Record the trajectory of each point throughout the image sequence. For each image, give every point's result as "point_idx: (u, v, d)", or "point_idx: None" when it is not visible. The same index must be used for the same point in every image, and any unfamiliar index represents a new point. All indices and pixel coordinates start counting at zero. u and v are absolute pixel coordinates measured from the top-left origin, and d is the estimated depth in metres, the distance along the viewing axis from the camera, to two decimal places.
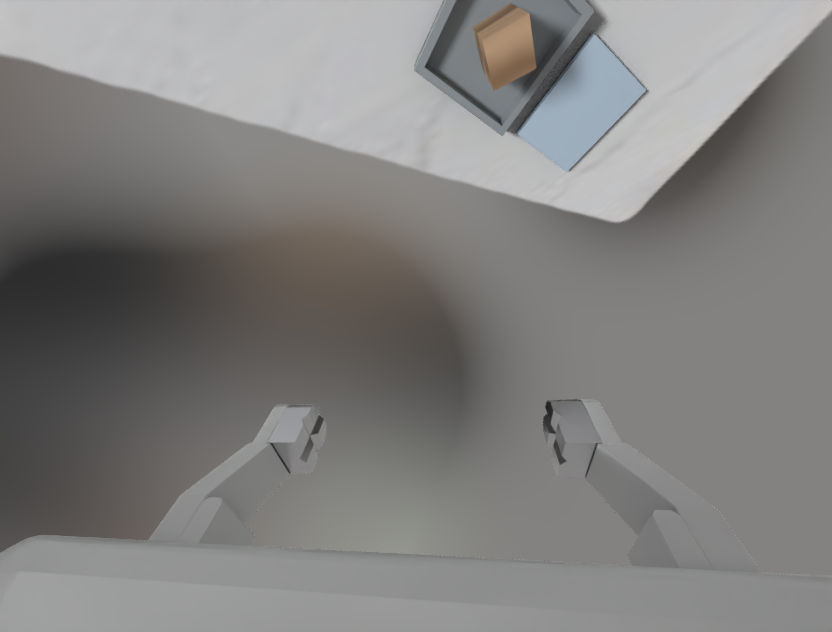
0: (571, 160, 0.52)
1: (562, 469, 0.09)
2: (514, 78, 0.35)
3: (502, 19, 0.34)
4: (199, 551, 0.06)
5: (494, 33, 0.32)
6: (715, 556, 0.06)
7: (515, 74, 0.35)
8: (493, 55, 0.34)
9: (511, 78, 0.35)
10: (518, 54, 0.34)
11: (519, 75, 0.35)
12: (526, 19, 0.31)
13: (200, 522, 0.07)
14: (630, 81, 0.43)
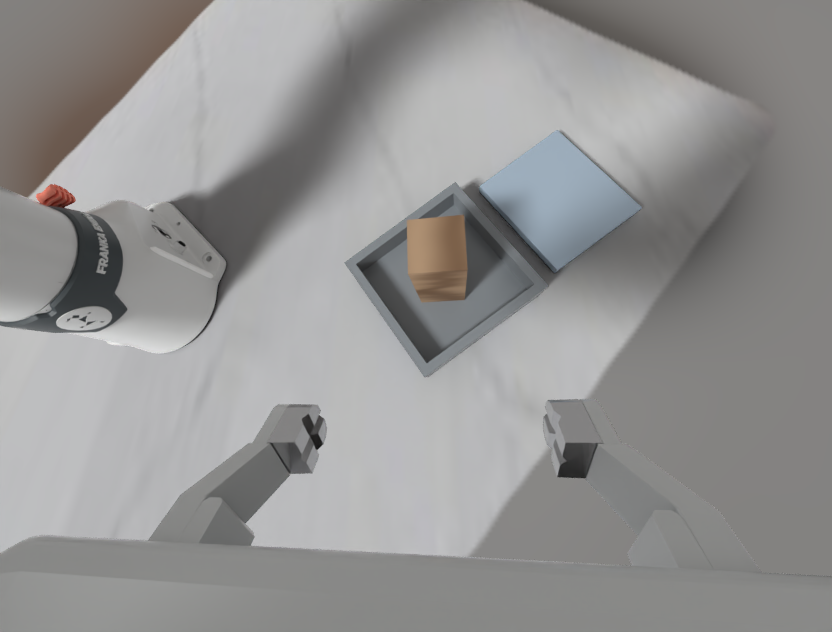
0: (624, 201, 0.34)
1: (562, 468, 0.09)
2: (463, 241, 0.25)
3: None
4: (199, 551, 0.06)
5: (408, 259, 0.26)
6: (715, 556, 0.06)
7: (459, 239, 0.25)
8: (427, 263, 0.25)
9: (462, 245, 0.25)
10: (440, 234, 0.26)
11: (463, 235, 0.25)
12: (410, 223, 0.26)
13: (200, 522, 0.07)
14: (540, 146, 0.37)
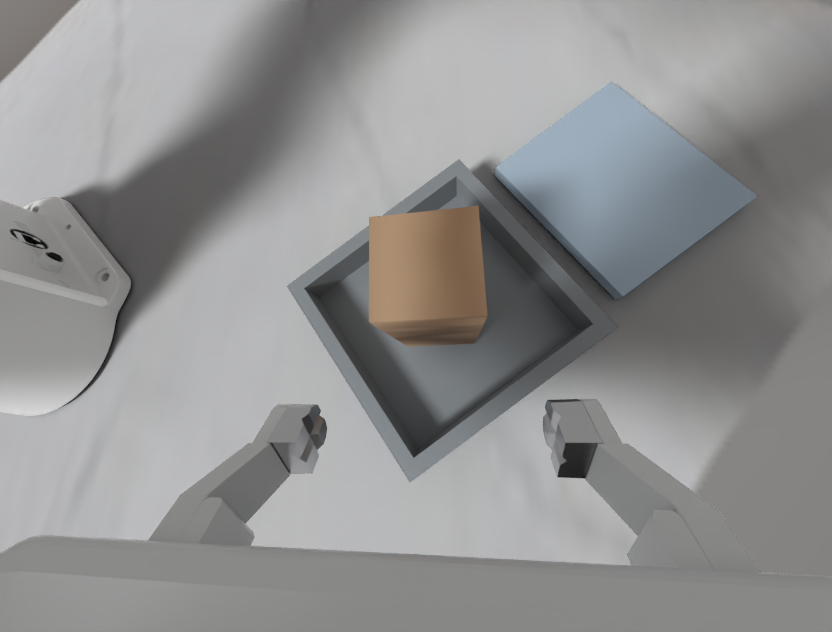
0: (726, 187, 0.22)
1: (562, 469, 0.09)
2: (478, 258, 0.13)
3: None
4: (199, 551, 0.06)
5: None
6: (715, 556, 0.06)
7: (471, 255, 0.13)
8: (407, 302, 0.13)
9: (476, 266, 0.13)
10: (432, 244, 0.13)
11: (477, 246, 0.13)
12: (376, 223, 0.14)
13: (200, 522, 0.07)
14: (587, 107, 0.24)
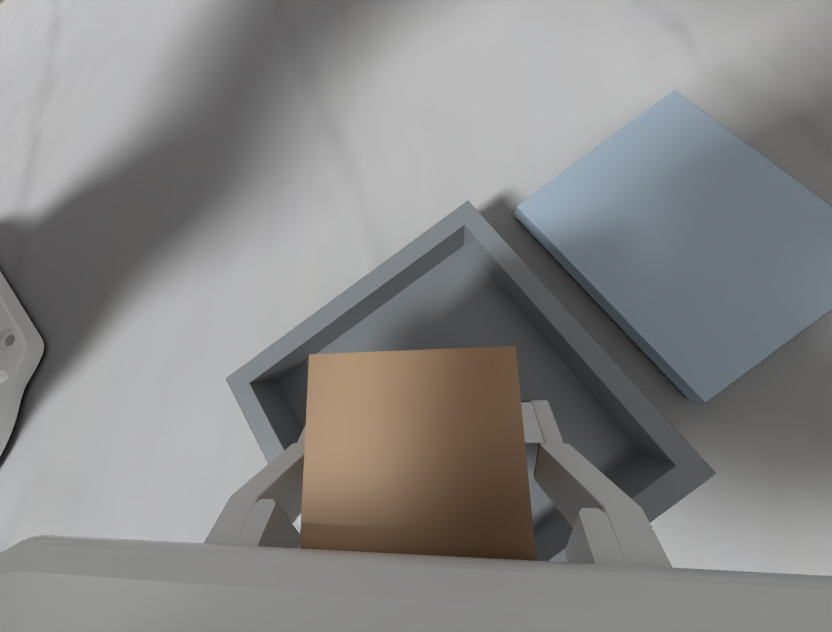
0: None
1: None
2: (519, 464, 0.06)
3: None
4: (199, 551, 0.06)
5: None
6: (631, 552, 0.06)
7: (502, 454, 0.06)
8: (375, 550, 0.06)
9: (513, 480, 0.06)
10: (424, 422, 0.07)
11: (515, 434, 0.06)
12: (321, 368, 0.07)
13: (255, 524, 0.07)
14: (642, 125, 0.18)
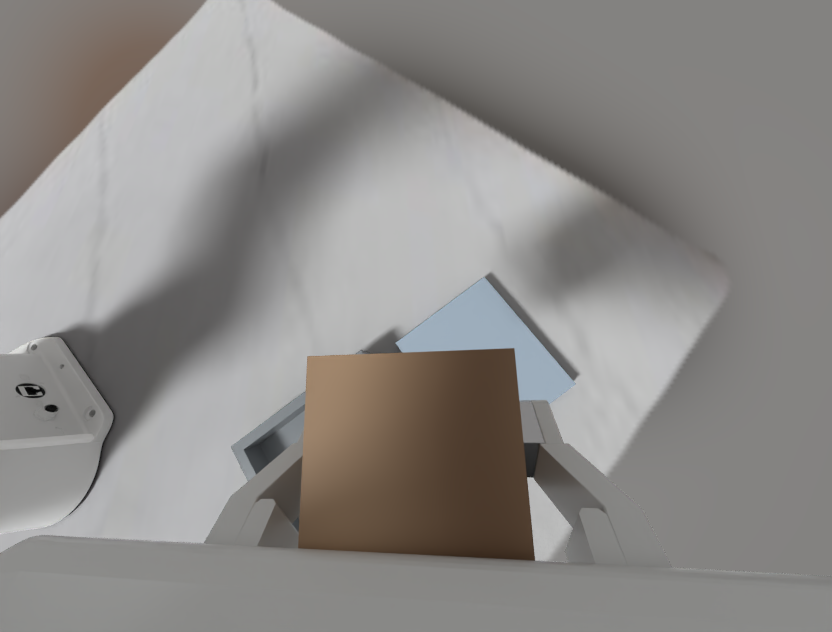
0: (555, 374, 0.29)
1: None
2: (518, 467, 0.06)
3: None
4: (199, 551, 0.06)
5: None
6: (631, 552, 0.06)
7: (501, 457, 0.06)
8: None
9: (512, 483, 0.06)
10: (423, 425, 0.07)
11: (514, 437, 0.06)
12: (320, 370, 0.07)
13: (256, 524, 0.07)
14: (465, 297, 0.32)
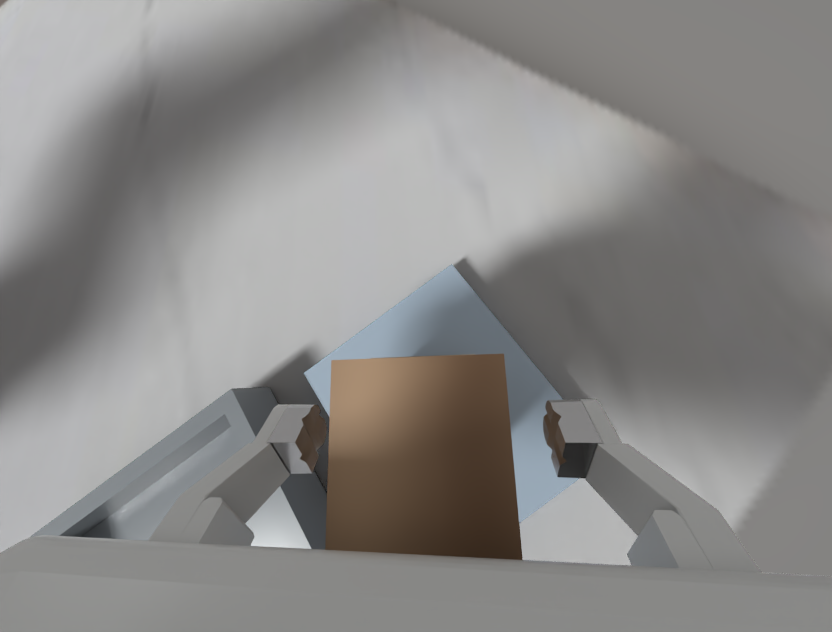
0: None
1: (562, 468, 0.09)
2: (506, 451, 0.08)
3: None
4: (199, 551, 0.06)
5: None
6: (715, 556, 0.06)
7: (492, 443, 0.08)
8: (388, 520, 0.08)
9: (501, 463, 0.08)
10: (429, 417, 0.08)
11: (503, 426, 0.08)
12: (342, 371, 0.09)
13: (200, 522, 0.07)
14: (419, 298, 0.19)
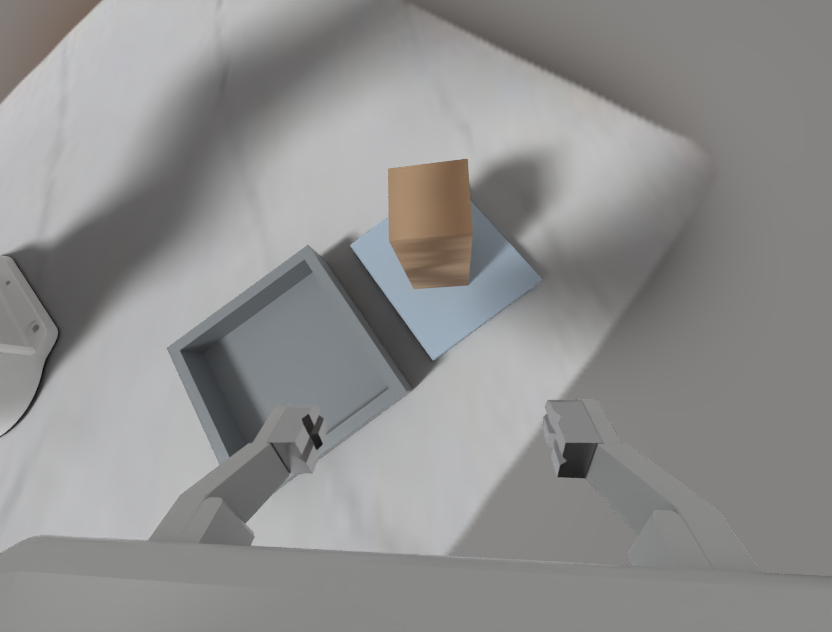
0: (520, 270, 0.27)
1: (562, 469, 0.09)
2: (467, 195, 0.18)
3: None
4: (199, 551, 0.06)
5: None
6: (715, 556, 0.06)
7: (461, 193, 0.18)
8: (416, 226, 0.18)
9: (465, 200, 0.18)
10: (434, 186, 0.18)
11: (466, 186, 0.18)
12: (393, 172, 0.19)
13: (200, 522, 0.07)
14: None
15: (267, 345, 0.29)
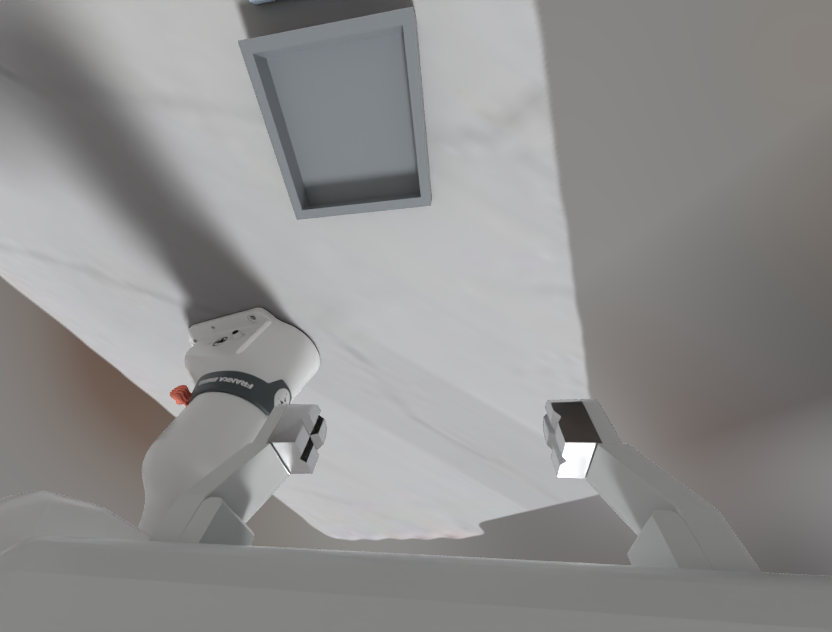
0: None
1: (562, 469, 0.09)
2: None
3: None
4: (199, 551, 0.06)
5: None
6: (715, 556, 0.06)
7: None
8: None
9: None
10: None
11: None
12: None
13: (200, 522, 0.07)
14: None
15: (323, 146, 0.33)
